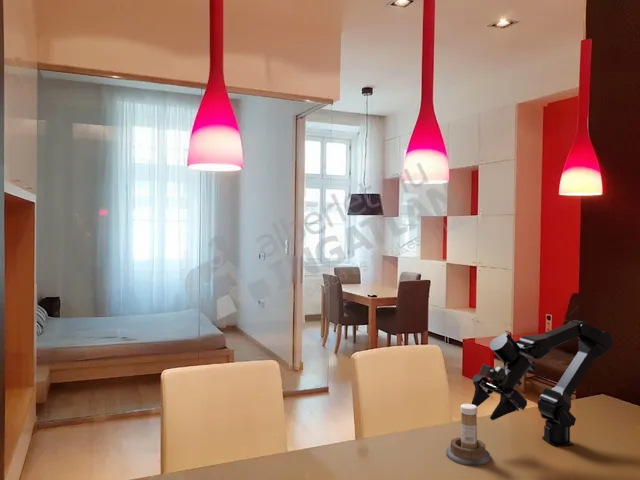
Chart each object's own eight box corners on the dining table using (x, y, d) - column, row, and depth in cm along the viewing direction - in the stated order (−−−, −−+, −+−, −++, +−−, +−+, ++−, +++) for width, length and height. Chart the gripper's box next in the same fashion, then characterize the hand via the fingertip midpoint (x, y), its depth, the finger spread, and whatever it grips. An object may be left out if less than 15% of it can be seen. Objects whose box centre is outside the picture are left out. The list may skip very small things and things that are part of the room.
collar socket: (477, 445, 153) (477, 434, 153) (498, 463, 141) (498, 450, 141) (439, 448, 151) (439, 437, 151) (457, 467, 139) (457, 454, 139)
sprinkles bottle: (478, 451, 147) (478, 404, 147) (474, 457, 143) (475, 409, 143) (462, 448, 149) (462, 402, 149) (458, 453, 145) (458, 406, 145)
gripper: (477, 347, 158) (445, 387, 154) (518, 362, 140) (484, 406, 137) (498, 370, 160) (468, 410, 157) (541, 387, 142) (508, 432, 139)
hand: (481, 413), depth 147 cm, fingers open, 9 cm apart
